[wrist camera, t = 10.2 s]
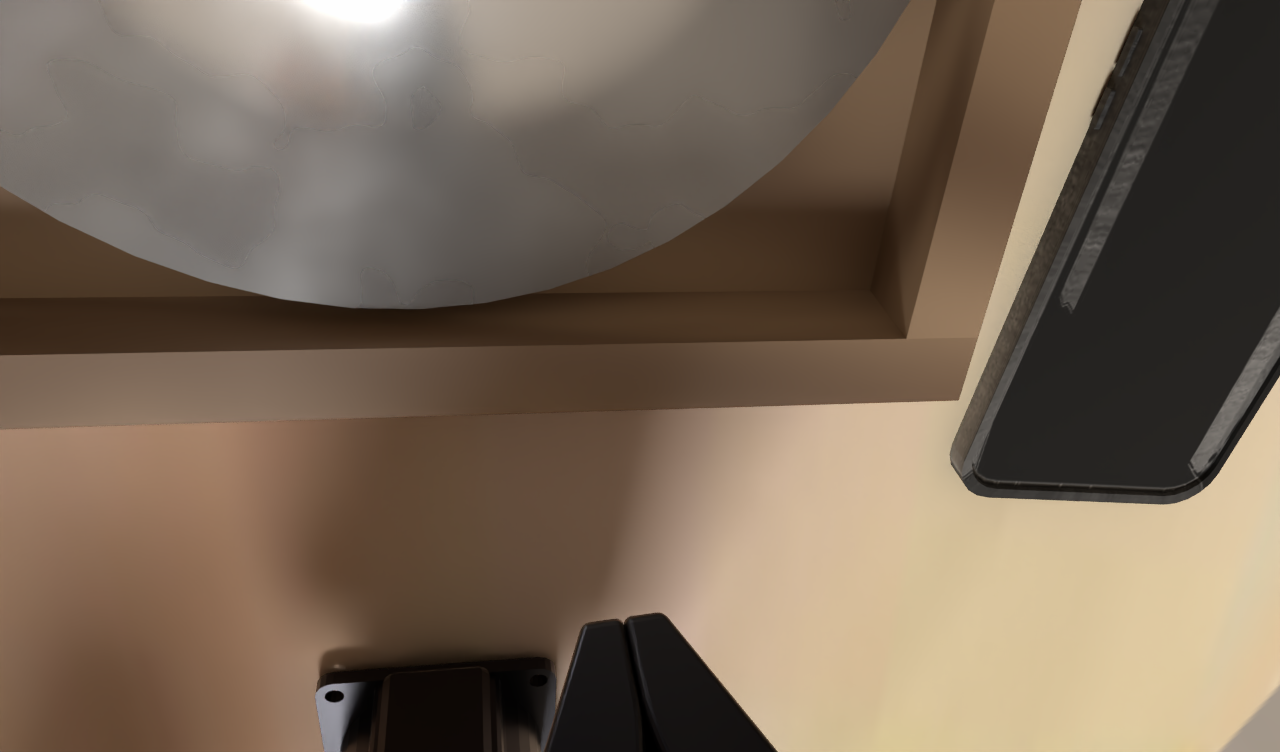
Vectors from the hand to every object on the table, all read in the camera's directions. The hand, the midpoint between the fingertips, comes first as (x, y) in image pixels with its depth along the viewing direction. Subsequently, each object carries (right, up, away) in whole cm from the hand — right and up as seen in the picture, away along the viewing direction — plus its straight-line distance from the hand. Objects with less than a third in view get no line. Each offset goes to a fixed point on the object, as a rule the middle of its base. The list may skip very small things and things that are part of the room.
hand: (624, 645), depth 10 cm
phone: (+13, +6, +13) cm, 20 cm away
